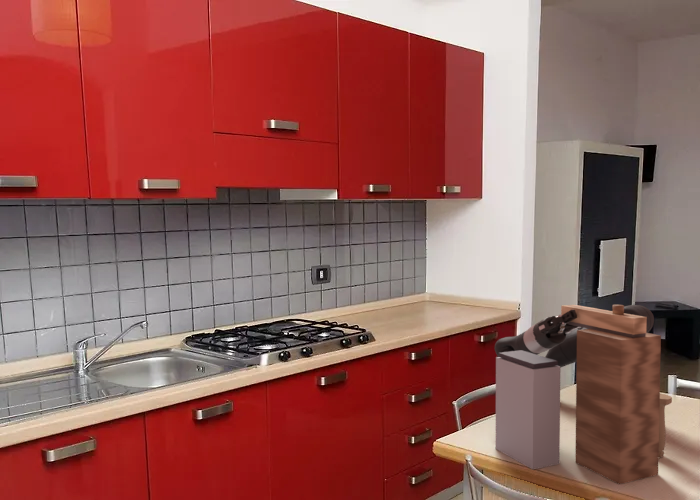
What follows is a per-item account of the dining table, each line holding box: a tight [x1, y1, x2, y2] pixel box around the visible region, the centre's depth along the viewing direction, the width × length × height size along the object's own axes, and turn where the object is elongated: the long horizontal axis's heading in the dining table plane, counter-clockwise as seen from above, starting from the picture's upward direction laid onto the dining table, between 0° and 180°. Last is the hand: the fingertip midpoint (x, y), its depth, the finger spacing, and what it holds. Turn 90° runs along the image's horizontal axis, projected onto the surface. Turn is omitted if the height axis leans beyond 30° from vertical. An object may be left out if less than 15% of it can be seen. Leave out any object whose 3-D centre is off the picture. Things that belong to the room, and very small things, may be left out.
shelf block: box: [574, 329, 662, 485], centre depth 139 cm, size 12×13×32 cm
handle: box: [659, 393, 673, 459], centre depth 146 cm, size 5×6×15 cm
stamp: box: [560, 304, 647, 338], centre depth 142 cm, size 4×22×6 cm, turn 23°
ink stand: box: [495, 350, 561, 470], centre depth 147 cm, size 8×14×25 cm, turn 23°
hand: (585, 312), depth 147 cm, fingers open, 6 cm apart
